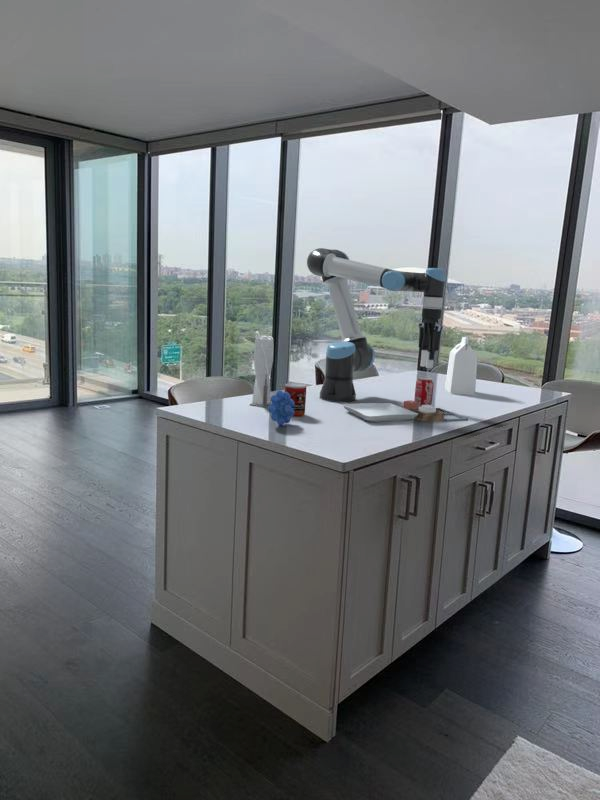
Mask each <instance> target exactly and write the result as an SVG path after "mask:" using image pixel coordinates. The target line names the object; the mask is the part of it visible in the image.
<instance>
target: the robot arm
mask: <svg viewBox="0 0 600 800" xmlns="http://www.w3.org/2000/svg"><path fill="white" fill-rule="evenodd" d="M306 266H307V268H308V270H309V272H310V273H311V274H312V275H314V276H316V277H321V279H322V283H323V285H325V286H326V287H327V288H328V291H329V296H330V298H331V299H330V300H331V303H332V306H333V311H334V315H335V318H336V322H337V325H338V330H339V334H340V336H341V341H334V342H330V343H329V344H328V345H327V347H326V353H325V355H326V357H325V374H324V381H323V382H322V383H323V384H322V386H321V389H320V392H319V398H320V399H321V400H323V401H328V402H335V403H336V402H337V403H350V402H351V403H352V402H355V401H356V397H357V394H356V393H357V392H356V389H355V386H354V373H356V372H362V371H366V370H368V369H370V368H371V367H372V366H373V364H374V362H375V358H376V353H375V350H374V347H373V346H372V345H370V344H369V343H368V341H367V337H366V336H365V335H363V334H362V331H361V328H360V325H359V321H358V318H357V316H358V315H357V314H356V309H355V306H354V301H353V299H352V295H351V292H350V288H349V283H348V281H349V280H350V281H354V282H358V283H361V284H362V283H363V284H366V285H371V286H374V287H379V288H383V289H386V290H387V291H390V292H412V293H414V292H415V293H416V292H417V293H423V297H422V298H423V299H422V307H423V308H422V311H421V318H423V321H422V322H420V323H419V324H418V328H419V332H418V333H419V334H418V348H420V350H421V353H420V354H421V355H420V365H419V367H425V368H426V369H433V367H434V360H435V352H438V351H439V350H440V342H441V333H442V330H443V325H440V324H439V320H440V319H441V318H442V309H441V308H443V299H444V290H445V289H444V288H445V283H446V270H445V269H444V268H438V267H437V268H436V267H427V268H426V269H425V272H413V271H412V272H409V271H400V270H395V269H392V268H391V269H390V268H386V267H381V266H377V265H373V264H370V263H369V264H368V263H364V262H360V261H356V260H351V259H350V258H349V256H348V255H347V253H345V252H344V251H342V250H338V249H329V248H323V247H320V248H319V247H318V248H316V249H313V250H312V251H311V252H310V253H309V255H308V256H307V258H306Z"/></svg>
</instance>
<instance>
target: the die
mask: <svg viewBox="0 0 600 800" xmlns="http://www.w3.org/2000/svg"><path fill="white" fill-rule="evenodd" d="M418 404H419V402H416V401H414V400H403V407H402V408H405V409H408V410H410V408H418Z"/></svg>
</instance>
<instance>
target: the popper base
mask: <svg viewBox="0 0 600 800" xmlns="http://www.w3.org/2000/svg"><path fill="white" fill-rule="evenodd" d="M418 409H419V408H410V411H413V412H415V413H418V415H417V416H416V417H414V418H413V419H415V418H416V420H418V419H419V420H418V421H420V420H421V421H420V422H422V421H425V422H443V421H444V418H445V415H444V413H445V412H443V411H441V410H436V413H423V412H420V411H418Z"/></svg>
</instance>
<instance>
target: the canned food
mask: <svg viewBox="0 0 600 800" xmlns="http://www.w3.org/2000/svg"><path fill="white" fill-rule="evenodd" d="M284 392H288V393H289V394H290V399H292V400H293V401H294V406H293V407H292V408H293V410H294V412H295V413H294V415H293V416H292V417H296V418H297V417H299V418H300V417H303V416H304V415H305V413H306V402H307V401H306V400H307V384H305V383H300V382H287V383H285V386H284Z"/></svg>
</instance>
